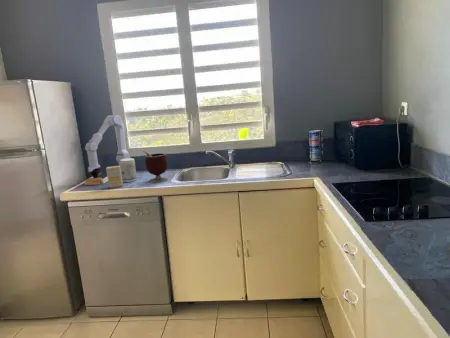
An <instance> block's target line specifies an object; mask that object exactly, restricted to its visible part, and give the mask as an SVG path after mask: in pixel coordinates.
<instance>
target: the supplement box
mask: <svg viewBox="0 0 450 338" xmlns="http://www.w3.org/2000/svg"><path fill="white" fill-rule="evenodd" d="M105 171H106V177H108V181H107V182H108V188H109V189H113V188H123V186H124V182H123V181H122V174H121V168H120V166H119V165H113V166H106V168H105Z"/></svg>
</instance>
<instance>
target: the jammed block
mask: <svg viewBox="0 0 450 338" xmlns="http://www.w3.org/2000/svg"><path fill="white" fill-rule="evenodd" d="M102 179H103V178H102V177H98V178H91V177H89V178H86V179H84V181H86V185H85V186H93V185H94V186H95V185H96V186H98V185H101V184H102V183H101V180H102Z"/></svg>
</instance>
